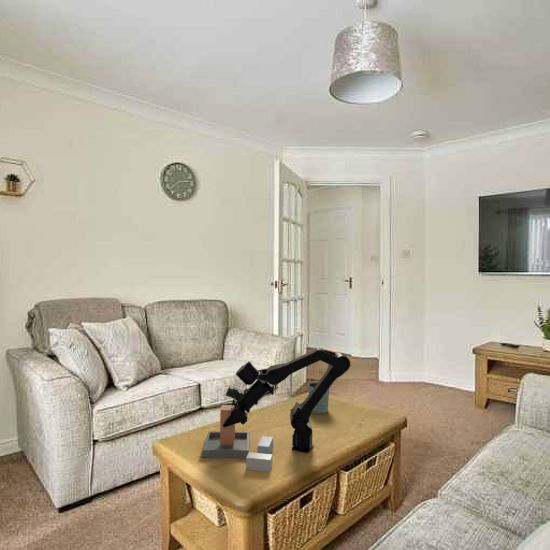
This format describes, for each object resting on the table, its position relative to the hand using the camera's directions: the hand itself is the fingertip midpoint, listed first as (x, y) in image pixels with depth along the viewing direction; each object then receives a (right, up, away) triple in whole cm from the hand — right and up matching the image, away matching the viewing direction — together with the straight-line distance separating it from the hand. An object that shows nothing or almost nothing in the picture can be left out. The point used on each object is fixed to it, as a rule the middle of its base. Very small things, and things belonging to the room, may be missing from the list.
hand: (224, 423), depth 147 cm
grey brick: (+13, -10, -14) cm, 22 cm away
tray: (+1, -9, 0) cm, 9 cm away
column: (+1, -7, 0) cm, 7 cm away
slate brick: (+15, -9, -3) cm, 18 cm away
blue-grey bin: (+39, -9, +40) cm, 57 cm away
